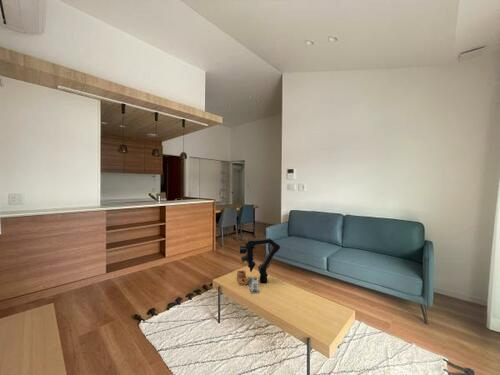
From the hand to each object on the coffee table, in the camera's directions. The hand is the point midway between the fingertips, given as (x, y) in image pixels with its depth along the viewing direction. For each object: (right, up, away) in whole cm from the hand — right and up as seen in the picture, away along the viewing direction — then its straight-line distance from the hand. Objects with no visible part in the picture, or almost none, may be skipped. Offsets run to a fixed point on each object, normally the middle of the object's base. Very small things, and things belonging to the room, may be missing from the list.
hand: (249, 269), depth 195 cm
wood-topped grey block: (+4, -12, -15) cm, 20 cm away
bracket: (-7, -12, +3) cm, 15 cm away
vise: (+3, -13, -4) cm, 14 cm away
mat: (+4, -13, -15) cm, 20 cm away
